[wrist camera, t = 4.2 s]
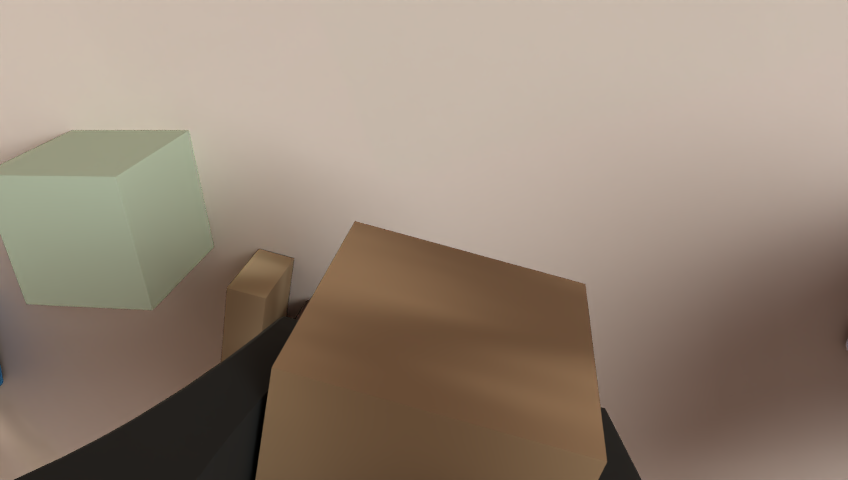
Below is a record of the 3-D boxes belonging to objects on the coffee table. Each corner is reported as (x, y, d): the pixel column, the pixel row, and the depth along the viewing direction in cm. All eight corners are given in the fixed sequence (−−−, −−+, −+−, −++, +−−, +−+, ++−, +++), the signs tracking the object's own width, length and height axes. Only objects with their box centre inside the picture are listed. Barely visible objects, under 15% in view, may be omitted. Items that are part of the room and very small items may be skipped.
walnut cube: (585, 284, 11) (607, 461, 8) (517, 452, 13) (509, 657, 10) (355, 221, 11) (272, 366, 8) (321, 397, 13) (241, 578, 10)
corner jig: (526, 321, 21) (523, 369, 19) (461, 508, 26) (453, 565, 23) (259, 248, 22) (226, 287, 20) (238, 444, 26) (210, 494, 24)
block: (190, 129, 20) (115, 176, 17) (215, 245, 22) (152, 310, 19) (73, 129, 21) (-22, 175, 18) (106, 242, 23) (26, 304, 19)
